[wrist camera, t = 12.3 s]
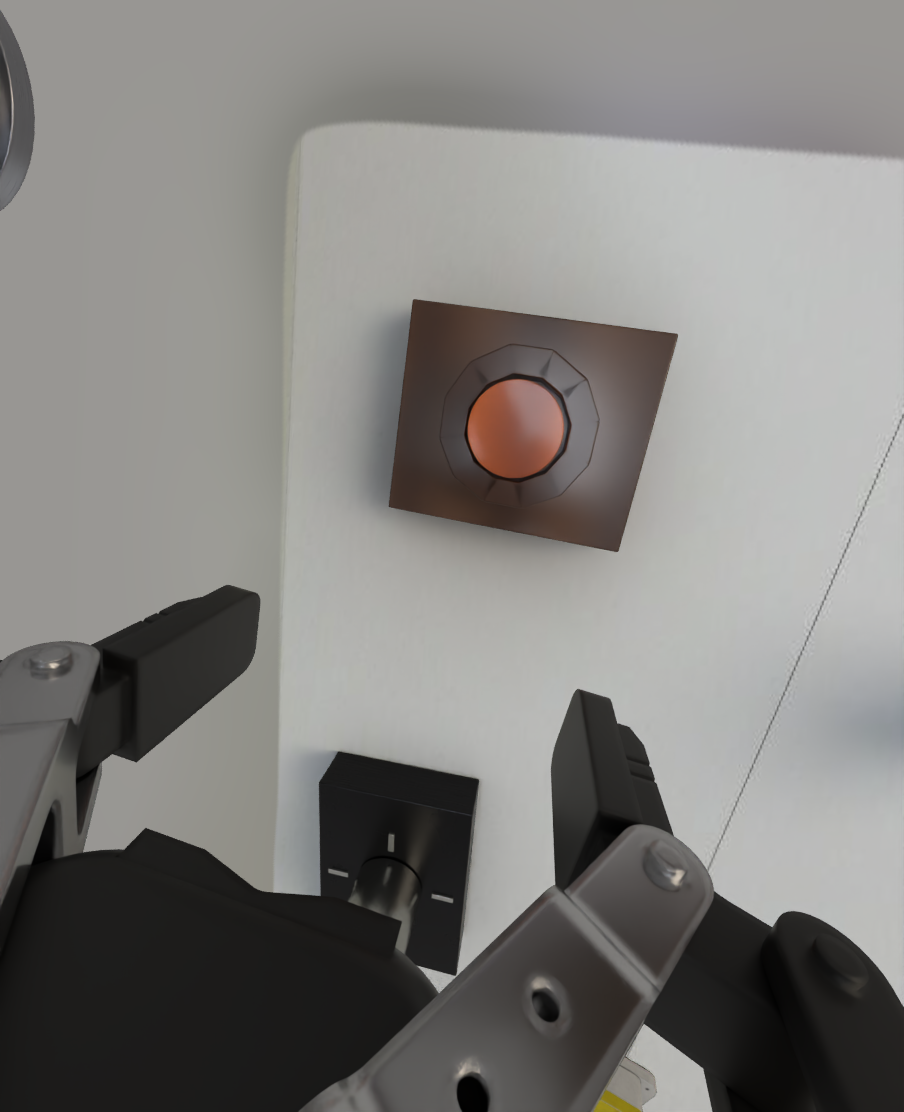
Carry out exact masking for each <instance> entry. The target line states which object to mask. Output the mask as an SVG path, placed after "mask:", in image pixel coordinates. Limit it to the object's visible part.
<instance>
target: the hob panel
mask: <svg viewBox="0 0 904 1112" xmlns="http://www.w3.org/2000/svg"><path fill="white" fill-rule="evenodd" d="M478 787H479V780H477V779H472V778H467V777H462V776H457V775H452V774H447V773H442V772H437V771H432V770H427V769H422V768H417V767H412V766H407V765H402V764H397V763H392V762H387V761H382V760H377V759H372V758H367V757H362V756H357V755H352V754H347V753H342V752H338V753H337V755H336V756H335V758H334V760H333V761H332V763H331V764H330V766H329V768H328V769H327V771H326V772H325V774H324V776H323V777H322V779H321V780H320V782H319V813H320V882H321V896H325V897H337V898H339V899H342V900H345V901H347V899H348V897H349V894H350V892H351V890H352V887H353V885H354V882H355V880H356V878H357V875H358V873H359V870H360V868H361V867H362V866H363V865H364V864H365V863H366V862H368V861H369V860H372V859H376V858H388V859H392V860H395V861H398V862H400V863H402V864H404V865H405V866H407V867H408V868H409V869H411V870H412V871H413V872H414V874H415V875H416V876H417V878H418V880H419V882H420V885H421V890H422V893H421V898H420V902H419V906H418V909H417V913H416V917H415V921H414V925H413V929H412V932H411V936H410V940H409V944H408V948H407V952H406V956H407V957H408V958H409V959H410V960H411V961H412V962H413V963H414V964H415V965H417V966H421V967H424V968H428V969H432V970H435V971H439V972H443V973H446V974H450V975H454V976H456V974H457V967H458V961H459V955H460V948H461V942H462V936H463V928H464V919H465V909H466V900H467V890H468V881H469V872H470V862H471V853H472V843H473V834H474V824H475V815H476V805H477V796H478Z"/></svg>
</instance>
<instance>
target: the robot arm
mask: <svg viewBox="0 0 904 1112" xmlns="http://www.w3.org/2000/svg"><path fill="white" fill-rule="evenodd" d="M259 612H260V597H259V595H258V594H257V593H255V592H251V591H248V590H244V589H241V588H238V587H234V586H231V585H226V586H223V587H221V588H219V589H217V590H216V591H213V592H211V593H209V594H208V595H206V596H204V597H200V598H195V599H191V600H187V601H182V602H178V603H176V604H174V605H172V606H170V607H168V608H166V609H164V610H162V611H160V612H159V614H157V613H156V614H153V615H151V616H149V617H148V618H145V619H144V621H139V622H137V623H135V624H133V625H131V626H129V627H127V628H125V629H123V630H121V631H119V632H117V633H115V634H113V635H111V636H109V637H107V638H104V639H103V640H101V641H98V642H96V643H94V644H92V645H88V644H84V643H80V642H70V641H60V642H49V643H43V644H38V645H34V646H30V647H27V648H24V649H21V650H19V651H17V652H15V653H13V654H11V655H10V656H8V657H6V658H5V659H4V660H0V1112H594V1110H595V1108H596V1106H597V1105H598V1103H599V1101H600V1099H601V1098H602V1096H603V1094H604V1092H605V1091H606V1089H607V1087H608V1085H609V1084H610V1082H611V1080H612V1078H613V1077H614V1075H615V1073H616V1071H617V1070H618V1068H619V1066H620V1064H621V1063H622V1061H623V1059H624V1057H625V1056H626V1054H627V1052H628V1050H629V1049H630V1047H631V1045H632V1043H633V1042H634V1040H635V1038H636V1036H637V1035H638V1033H639V1031H640V1029H641V1028H642V1026H643V1024H645V1025H646V1026H648V1027H649V1028H650V1029H652V1030H653V1031H654V1032H656V1033H657V1034H658V1035H660V1036H661V1037H662V1038H664V1039H665V1040H666V1041H668V1042H669V1043H670V1044H672V1045H673V1046H674V1047H676V1048H677V1049H678V1050H680V1051H681V1052H682V1053H684V1054H685V1055H686V1056H688V1057H689V1058H690V1059H692V1060H693V1061H694V1062H695V1063H697V1064H698V1065H699V1066H701V1067H702V1068H703V1069H704V1074H705V1079H706V1083H707V1088H708V1093H709V1097H710V1102H711V1107H712V1111H713V1112H904V1007H903V1005H902V1004H901V1002H900V1000H899V999H898V997H897V995H896V993H895V992H894V990H893V988H892V987H891V985H890V984H889V982H888V981H887V979H886V978H885V976H884V975H883V974H882V972H881V971H880V970H879V968H878V967H877V966H876V965H875V964H874V963H873V961H872V960H871V959H870V958H869V957H868V956H867V955H866V954H865V953H864V952H863V951H862V950H861V949H860V948H859V947H858V946H857V945H855V944H854V943H853V942H852V941H851V940H850V939H849V938H847V937H846V936H845V935H843V934H842V933H841V932H839V931H838V930H836V929H835V928H833V927H832V926H830V925H829V924H827V923H825V922H824V921H822V920H820V919H818V918H816V917H813V916H811V915H808V914H805V913H802V912H796V911H791V912H786V913H783V914H782V915H781V916H780V917H779V918H778V920H777V921H776V923H775V924H774V926H773V927H771V926H769V925H767V924H766V923H764V922H762V921H761V920H759V919H757V918H756V917H754V916H752V915H751V914H749V913H747V912H746V911H744V910H742V909H741V908H739V907H737V906H736V905H734V904H732V903H731V902H729V901H727V900H726V899H724V898H723V897H721V896H720V895H719V894H717V893H716V892H715V891H714V888H713V883H712V880H711V877H710V875H709V873H708V871H707V869H706V868H705V866H704V865H703V863H702V862H701V861H700V859H699V858H698V857H697V856H696V855H695V854H694V853H693V852H692V850H691V849H690V848H688V847H687V846H686V845H685V844H684V843H683V842H681V841H680V840H679V839H677V838H676V837H674V835H673V832H672V829H671V826H670V823H669V820H668V817H667V814H666V811H665V808H664V805H663V802H662V799H661V796H660V793H659V790H658V787H657V784H656V783H655V782H654V780H655V778H654V775H653V772H652V769H651V767H649V764H650V763H649V760H648V757H647V754H646V751H645V748H644V745H643V744H642V742H641V741H640V740H639V739H638V737H637V736H636V735H635V734H634V732H633V731H632V730H631V729H630V727H627V726H624V725H621V724H617V721H616V717H615V714H614V710H613V706H612V702H611V700H610V699H609V698H607V697H603V696H600V695H597V694H593V693H590V692H586V691H583V690H580V689H577V690H576V691H575V693H574V694H573V697H572V699H571V702H570V705H569V708H568V710H567V713H566V716H565V719H564V722H563V724H562V727H561V730H560V733H559V735H558V738H557V741H556V744H555V748H554V752H553V757H552V764H551V783H552V808H553V834H554V860H555V885H553V886H552V887H550V888H549V889H547V890H546V891H545V892H544V893H543V894H542V895H541V896H540V897H539V898H538V899H537V900H536V901H535V902H534V903H533V904H532V905H531V906H529V907H528V908H527V909H526V910H525V911H524V912H523V913H522V914H521V915H520V916H519V917H518V918H517V919H516V920H515V921H514V922H513V923H512V924H511V925H510V926H509V927H508V928H507V929H506V930H505V931H503V932H502V933H501V934H500V935H499V936H498V937H497V938H496V939H495V940H494V941H493V942H492V943H491V944H490V945H489V946H488V947H487V948H486V949H485V950H484V951H483V952H482V953H481V954H480V955H479V956H477V957H476V958H475V959H474V960H473V961H472V962H471V963H470V964H469V965H468V966H467V967H466V968H465V969H464V970H463V971H462V972H461V973H460V974H459V975H458V976H457V977H456V978H455V979H454V980H453V981H452V982H450V983H449V984H448V985H447V986H446V987H445V988H444V989H443V990H442V991H441V992H440V993H438V991H437V990H436V988H435V987H434V985H433V984H432V983H431V982H430V980H429V979H428V978H427V977H426V975H425V974H424V973H423V972H422V971H421V970H420V969H419V968H418V967H417V966H416V965H415V964H414V963H413V962H412V961H411V960H410V959H409V958H408V957H407V956H406V955H405V954H403V953H402V952H401V951H400V950H398V949H397V948H396V947H395V946H396V942H397V938H398V935H399V931H400V927H401V924H402V921H400V920H397V919H394V918H391V917H389V916H386V915H383V914H380V913H378V912H375V911H372V910H369V909H367V908H364V907H361V906H358V905H356V904H353V903H350V902H348V901H345V900H342V899H339V898H337V897H325V896H312V895H299V894H286V893H273V892H264V891H260V890H257V889H255V888H254V887H252V886H251V885H250V884H249V883H247V882H246V881H245V880H243V879H242V878H241V877H240V876H238V875H237V874H236V873H235V872H233V871H232V870H231V869H229V868H228V867H227V866H226V865H224V864H223V863H222V862H220V861H219V860H218V859H217V858H215V857H214V856H213V855H212V854H210V853H209V852H208V851H206V850H205V849H202V848H199V847H196V846H194V845H191V844H188V843H186V842H183V841H180V840H177V839H175V838H172V837H169V836H166V835H164V834H161V833H158V832H155V831H153V830H150V829H147V828H145V829H144V830H143V831H142V832H141V833H140V834H139V835H138V836H137V837H136V838H135V839H134V840H133V841H132V842H131V843H130V845H128V846H127V848H126V849H125V850H120V849H118V850H99V851H91V852H84V853H83V850H84V846H85V842H86V838H87V833H88V829H89V825H90V821H91V817H92V812H93V808H94V804H95V800H96V796H97V792H98V788H99V783H100V779H101V775H102V761H104V760H105V759H106V758H108V757H109V756H110V755H111V754H114V755H117V756H120V757H123V758H125V759H128V760H131V761H134V762H137V761H139V760H140V759H141V758H142V757H143V756H145V755H146V754H147V753H148V752H149V751H150V750H151V749H153V748H154V747H155V746H156V745H158V744H159V743H160V742H161V741H162V740H164V739H165V738H166V737H167V736H168V735H170V734H171V733H172V732H173V731H174V730H175V729H177V728H178V727H179V726H180V725H181V724H183V723H184V722H185V721H186V720H187V719H189V718H190V717H191V716H192V715H193V714H195V713H196V712H197V711H198V710H199V709H201V708H202V707H203V706H204V705H205V704H207V703H208V702H209V701H210V700H211V699H212V698H214V697H215V696H216V695H217V694H218V693H219V692H221V691H222V690H223V689H224V688H226V687H227V686H228V685H229V684H230V683H232V682H233V681H234V680H235V679H236V678H237V677H239V676H240V675H241V674H242V673H243V672H244V671H245V670H246V669H247V668H248V666H249V665H250V663H251V661H252V659H253V656H254V653H255V649H256V640H257V631H258V621H259Z"/></svg>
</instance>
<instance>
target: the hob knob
mask: <svg viewBox="0 0 904 1112" xmlns="http://www.w3.org/2000/svg"><path fill="white" fill-rule="evenodd" d="M421 893H422V890H421V885H420V882H419V880H418V878H417V876H416V875H415V874H414V872H413V871H412V870H411V869H409V868H408V867H407V866H405V865H404V864H402V863H400V862H398V861H395V860H392V859H388V858H376V859H372V860H369V861H368V862H366V863H365V864H364V865H363V866H362V867H361V868H360V870H359V873H358V875H357V878H356V880H355V882H354V885H353V887H352V890H351V892H350V894H349V897H348V899H347V901H348V902H350V903H353V904H356V905H358V906H361V907H364V908H367V909H369V910H372V911H375V912H378V913H380V914H383V915H386V916H389V917H391V918H394V919H397V920H400V921H402V924H401V927H400V931H399V935H398V938H397V942H396V946H395V947H396V948H397V949H398V950H400V951H401V952H402V953H403V954H405V955H406V952H407V948H408V944H409V940H410V936H411V932H412V929H413V925H414V921H415V917H416V913H417V909H418V906H419V902H420V898H421Z"/></svg>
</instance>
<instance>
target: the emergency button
mask: <svg viewBox="0 0 904 1112" xmlns="http://www.w3.org/2000/svg"><path fill="white" fill-rule="evenodd" d="M656 1093H657V1089H656V1082H655V1079H654V1076H653V1075H652V1074H651V1073H650V1072H649V1071H647V1070H646V1069H644V1068H642V1067H640V1066H639V1065H637V1064H635V1063H634V1062H632V1061H630V1060H629V1059H627V1058H625V1057H624V1059H623V1061H622V1063H621V1064H620V1066H619V1068H618V1070H617V1071H616V1073H615V1075H614V1077H613V1078H612V1080H611V1082H610V1084H609V1085H608V1087H607V1089H606V1091H605V1092H604V1094H603V1096H602V1098H601V1099H600V1101H599V1103H598V1105H597V1106H596V1108H595V1110H594V1112H643V1109H642V1105H644V1104H645V1103H646V1102H648V1101H649V1100H650V1099H652V1098H653V1097H654V1096H655V1095H656Z"/></svg>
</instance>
